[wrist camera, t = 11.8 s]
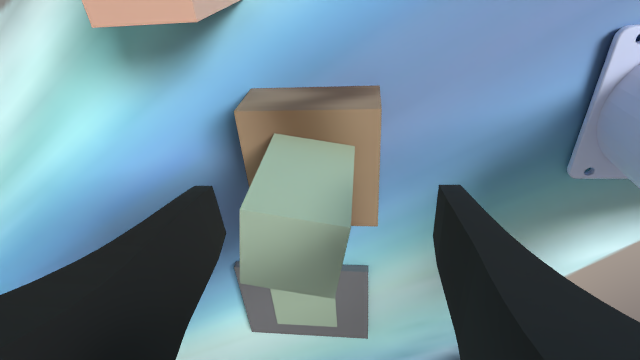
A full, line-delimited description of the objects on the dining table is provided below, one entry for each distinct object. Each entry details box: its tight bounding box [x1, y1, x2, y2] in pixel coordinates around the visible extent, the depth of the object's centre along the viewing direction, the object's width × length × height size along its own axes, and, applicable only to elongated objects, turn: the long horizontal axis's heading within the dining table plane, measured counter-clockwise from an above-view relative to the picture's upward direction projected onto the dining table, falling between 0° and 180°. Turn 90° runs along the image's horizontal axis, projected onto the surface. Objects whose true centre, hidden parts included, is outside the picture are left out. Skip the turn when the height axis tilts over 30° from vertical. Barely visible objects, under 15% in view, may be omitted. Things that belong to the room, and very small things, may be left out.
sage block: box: [240, 133, 355, 299], centre depth 17 cm, size 4×4×6 cm
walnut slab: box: [234, 86, 381, 226], centre depth 21 cm, size 7×7×4 cm
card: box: [234, 261, 368, 339], centre depth 29 cm, size 10×8×1 cm
